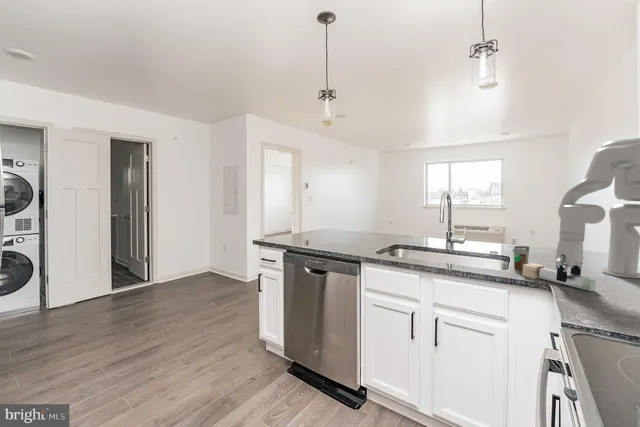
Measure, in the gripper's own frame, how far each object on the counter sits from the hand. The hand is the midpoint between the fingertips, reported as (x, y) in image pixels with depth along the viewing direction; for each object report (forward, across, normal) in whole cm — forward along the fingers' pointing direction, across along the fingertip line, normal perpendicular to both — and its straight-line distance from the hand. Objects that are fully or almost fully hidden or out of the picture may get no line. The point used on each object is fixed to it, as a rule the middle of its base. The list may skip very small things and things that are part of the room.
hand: (568, 279), depth 120 cm
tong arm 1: (+2, +1, -1) cm, 2 cm away
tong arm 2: (+2, -1, -1) cm, 2 cm away
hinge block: (+2, 0, -13) cm, 13 cm away
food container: (+3, -9, -24) cm, 26 cm away
